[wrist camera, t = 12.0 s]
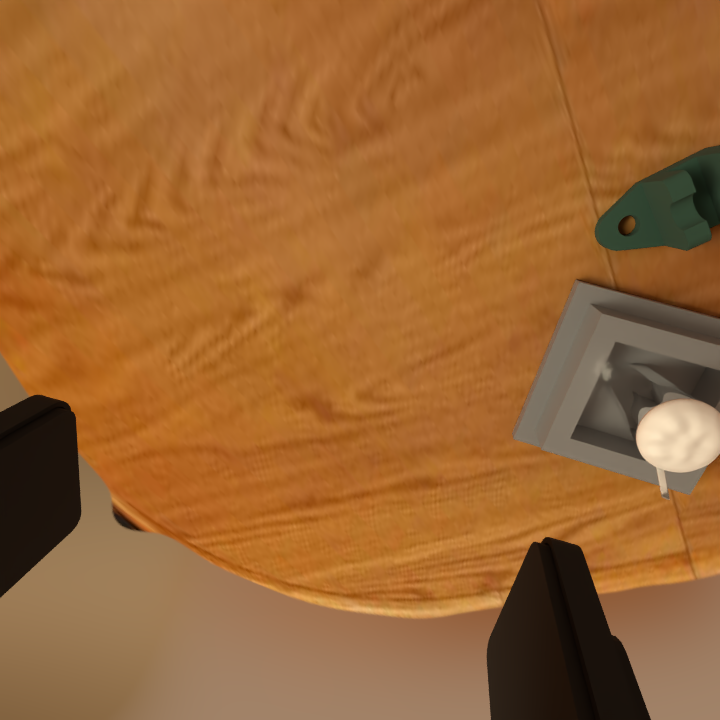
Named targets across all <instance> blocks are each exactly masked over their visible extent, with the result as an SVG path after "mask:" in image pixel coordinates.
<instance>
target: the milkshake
mask: <svg viewBox="0 0 720 720" xmlns="http://www.w3.org/2000/svg"><path fill="white" fill-rule="evenodd" d="M608 384H609V390H610V396H611V398H612V400H613V401H614V403H615V405H616V407H617V409H618V410H619V412H620V414H621V416H622V418H623V420H624V421H625V423H626V425H627V427H628V428H629V430H630V432H631V435H632V437H633V439H634V441H635V443H636V445H637V447H638V449H639V452H640V454H641V455H642V457H643V458H644V459H645V460H646V461H647V462H649V463H650V464H652V465H653V466H655V467H656V470H657V475H658V481H659V486H660V492H661V496H662V498H665V499H667V500H670V498H669V493H668V488H667V483H666V477H665V472H664V470H666V471H670V472H678V473H683V472H690V471H694V470H697V469H700V468H702V467H704V466H706V465H708V464H710V463H711V462H712V461H714V460H715V459H716V458H717V456H718V455H719V454H720V413H719V412H718V411H717V410H716V409H715V408H713V407H712V406H710V405H708V404H707V403H705V402H703V401H702V400H700V399H698V398H697V397H695V396H693V395H691V394H690V393H688V392H686V391H684V390H683V389H681V388H679V387H678V386H676V385H675V384H673V383H671V382H670V381H668V380H667V379H665V378H664V377H662V376H661V375H659V374H658V373H656V372H655V371H653V370H652V369H650V368H649V367H647V366H646V365H636V364H628V365H626V366H624V367H622V368H620V369H618V370H616V371H615V372H614V374H613V376H612V377H611V379H610V381H609V382H608Z"/></svg>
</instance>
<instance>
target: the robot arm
mask: <svg viewBox="0 0 720 720" xmlns="http://www.w3.org/2000/svg"><path fill="white" fill-rule="evenodd" d="M80 517H81V499H80V482H79V465H78V448H77V431H76V417H75V414H74V413H73V412H72V411H71V408H70V406H69V405H68V403H66V402H64V401H60V400H57V399H53V398H50V397H46V396H43V395H34V396H31V397H29V398H27V399H25V400H23V401H21V402H19V403H17V404H15V405H13V406H11V407H9V408H8V409H6V410H4V411H2V412H0V597H2V596H3V595H4V593H6V592H7V591H8V590H9V589H10V588H11V587H12V586H13V585H15V584H16V583H17V582H18V581H19V580H20V579H21V578H22V577H23V576H24V575H25V574H26V573H27V572H28V571H30V570H31V569H32V568H33V567H34V566H35V565H36V564H37V563H38V562H39V561H40V560H41V559H43V558H44V557H45V556H46V555H47V554H48V553H49V552H50V551H51V550H52V549H53V548H54V547H56V546H57V545H58V544H59V543H60V542H61V541H62V540H63V539H64V538H65V537H66V536H67V535H68V534H70V533H71V532H72V531H73V529H74V528H75V527H76V526H77V524H78V522H79V520H80ZM487 667H488V668H487V669H488V682H489V696H490V712H491V720H651V719H650V716H649V713H648V711H647V708H646V705H645V702H644V700H643V697H642V694H641V691H640V689H639V686H638V683H637V681H636V678H635V675H634V673H633V669H632V667H631V664H630V661H629V659H628V656H627V653H626V651H625V649H624V647H623V645H622V643H621V642H620V641H619V639H618V638H617V637H616V636H613V635H611V632H610V629H609V627H608V624H607V621H606V618H605V615H604V612H603V610H602V606H601V603H600V601H599V598H598V595H597V592H596V589H595V586H594V583H593V580H592V577H591V574H590V572H589V569H588V566H587V563H586V560H585V557H584V554H583V552H582V550H581V548H580V547H579V546H578V545H575V544H571V543H568V542H564V541H561V540H557V539H553V538H550V537H546V538H544V539H543V541H542V542H541V543H538V542H533V543H532V544H531V546H530V548H529V550H528V552H527V555H526V557H525V559H524V561H523V564H522V566H521V568H520V570H519V573H518V575H517V577H516V579H515V582H514V584H513V586H512V588H511V591H510V593H509V595H508V597H507V600H506V602H505V604H504V606H503V609H502V611H501V613H500V615H499V618H498V620H497V622H496V624H495V627H494V629H493V631H492V633H491V636H490V639H489V642H488V648H487Z"/></svg>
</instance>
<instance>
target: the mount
mask: <svg viewBox="0 0 720 720" xmlns="http://www.w3.org/2000/svg"><path fill="white" fill-rule="evenodd" d="M628 215H630V216H632V217H633V218H634V219H635V223H636V224H635V228H634V230H633V231H632V232H631V233H629V234H627V235H621V234H620V233H619V231H618V224H619V222H620V221H621V219H622V218H624V217H626V216H628ZM718 224H720V145H719V146H714V147H709V148H705V149H703V150H701V151H699V152H697V153H695V154H693V155H691V156H689V157H687V158H685V159H683V160H681V161H679V162H677V163H675V164H673V165H671V166H669V167H667V168H665V169H663V170H661V171H659V172H657V173H655V174H653V175H651V176H649V177H647V178H645V179H643V180H641V181H639V182H637V183H635V184H634V185H633V186H632V187H631V188H630V189H629V190H628V191H627V192H626V193H625V194H624V195H623V196H622V197H621V198H620V199H619V200H618V201H617V202H616V203H615V204H614V205H613V206H612V207H611V208H609V209H608V210H607V211H606V212H605V213H604V214H603V215H602V216H601V217H600V219H599V220H598V222H597V224H596V227H595V237H596V239H597V241H598V243H599V244H600V245H602V246H603V247H605V248H608V249H611V250H615V251H620V250H629V249H638V248H647V247H656V246H669V247H673V248H678V249H682V250H686V251H687V250H690V249H692V248H694V247H696V246H699V245H701V244H703V243H705V242H708V241H710V240H711V238H712V235H711V231H710V228H712V227H714V226H716V225H718Z"/></svg>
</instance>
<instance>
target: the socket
mask: <svg viewBox="0 0 720 720" xmlns="http://www.w3.org/2000/svg"><path fill="white" fill-rule="evenodd" d="M628 364H636V365H646V366H647V367H649V368H650V369H652V370H653V371H655V372H656V373H658V374H659V375H661V376H662V377H664V378H665V379H667V380H668V381H670V382H671V383H673V384H675V385H676V386H678V387H679V388H681V389H683V390H684V391H686V392H688V393H690V394H691V395H693V396H695V397H697V398H698V399H700V400H702V401H703V402H705V403H707V404H708V405H710V406H712V407H713V408H715V409H716V410H717V411H718V412H719V413H720V318H718V317H714V316H710V315H707V314H703V313H699V312H695V311H692V310H688V309H684V308H680V307H677V306H673V305H669V304H665V303H662V302H658V301H654V300H650V299H647V298H643V297H639V296H636V295H632V294H628V293H624V292H621V291H617V290H613V289H609V288H606V287H602V286H598V285H594V284H591V283H587V282H583V281H579V280H575V283H574V285H573V288H572V290H571V292H570V295H569V297H568V300H567V302H566V304H565V307H564V309H563V312H562V314H561V317H560V319H559V321H558V324H557V326H556V329H555V331H554V333H553V336H552V338H551V341H550V343H549V346H548V348H547V350H546V353H545V355H544V358H543V360H542V362H541V365H540V367H539V370H538V372H537V375H536V377H535V379H534V382H533V384H532V387H531V389H530V392H529V394H528V396H527V399H526V401H525V404H524V406H523V408H522V411H521V413H520V416H519V418H518V421H517V423H516V425H515V428H514V430H513V433H512V434H513V438H514V439H515V440H518V441H522V442H525V443H528V444H532V445H535V446H538V447H541V450H544V451H548V452H551V453H554V454H557V455H561V456H564V457H567V458H570V459H574V460H577V461H580V462H584V463H587V464H590V465H593V466H597V467H600V468H603V469H606V470H610V471H613V472H616V473H620V474H623V475H626V476H629V477H633V478H636V479H639V480H642V481H646V482H649V483H652V484H655V485H659V481H658V475H657V470H656V467H655V466H653V465H652V464H650V463H649V462H647V461H646V460H645V459H644V458H643V457H642V455H641V454H640V452H639V449H638V447H637V445H636V443H635V441H634V439H633V437H632V435H631V432H630V430H629V428H628V427H627V425H626V423H625V421H624V420H623V418H622V416H621V414H620V412H619V410H618V409H617V407H616V405H615V403H614V401H613V400H612V398H611V396H610V390H609V384H608V382H609V381H610V379H611V377H612V376H613V374H614V372H615V371H616V370H618V369H620V368H622V367H624V366H626V365H628ZM707 466H708V465H706V466H704V467H702V468H700V469H697V470H694V471H690V472H683V473H678V472H670V471H666V470H664V472H665V477H666V483H667V488H669V489H672V490H675V491H678V492H682V493H685V494H688V495H690V494H691V492H692V490H693V489H694V487H695V485H696V484H697V482H698V481H699V479H700V477H701V476H702V474H703V472H704V471H705V469H706V467H707Z"/></svg>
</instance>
